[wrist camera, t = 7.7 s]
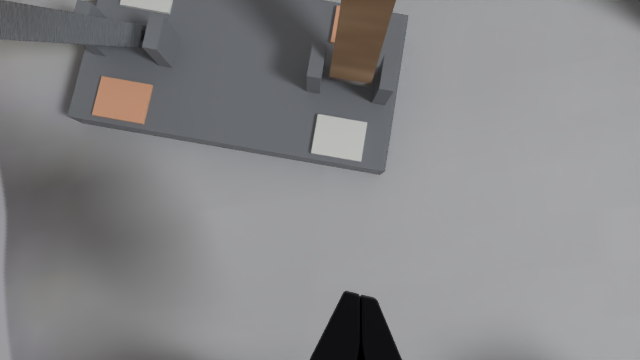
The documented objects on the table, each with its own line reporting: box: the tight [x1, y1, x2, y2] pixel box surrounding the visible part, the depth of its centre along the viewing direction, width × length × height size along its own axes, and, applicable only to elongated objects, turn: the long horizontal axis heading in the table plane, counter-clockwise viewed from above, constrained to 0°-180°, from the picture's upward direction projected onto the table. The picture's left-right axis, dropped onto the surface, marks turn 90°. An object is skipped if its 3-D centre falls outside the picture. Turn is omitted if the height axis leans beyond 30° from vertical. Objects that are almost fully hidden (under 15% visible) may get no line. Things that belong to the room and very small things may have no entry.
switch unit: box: [67, 0, 408, 175], centre depth 22 cm, size 10×19×4 cm, turn 80°
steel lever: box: [0, 0, 147, 48], centre depth 16 cm, size 3×3×13 cm
